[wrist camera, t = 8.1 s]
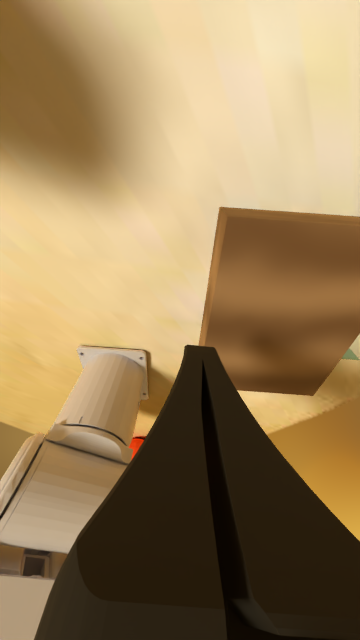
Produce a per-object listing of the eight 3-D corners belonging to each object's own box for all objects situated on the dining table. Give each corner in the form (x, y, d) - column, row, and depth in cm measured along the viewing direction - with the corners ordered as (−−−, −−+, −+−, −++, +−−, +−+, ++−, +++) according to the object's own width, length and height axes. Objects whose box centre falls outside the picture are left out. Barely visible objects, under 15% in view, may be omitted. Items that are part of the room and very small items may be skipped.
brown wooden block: (296, 365, 24) (313, 395, 21) (196, 358, 24) (197, 387, 21) (383, 218, 15) (436, 231, 12) (219, 206, 15) (227, 216, 12)
